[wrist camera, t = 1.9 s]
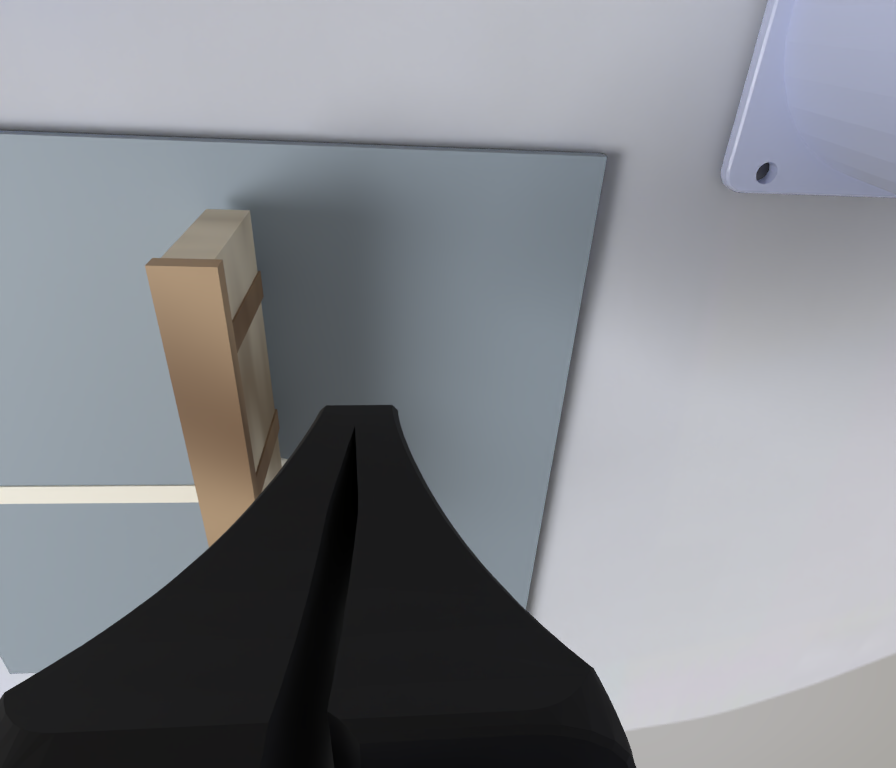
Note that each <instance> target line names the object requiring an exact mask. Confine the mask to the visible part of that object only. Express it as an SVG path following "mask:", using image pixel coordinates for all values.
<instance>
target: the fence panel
mask: <svg viewBox="0 0 896 768" xmlns="http://www.w3.org/2000/svg"><path fill="white" fill-rule="evenodd" d="M145 269H146V273H147V277H148V282H149V286H150V291H151V295H152V299H153V304H154V308H155V313H156V317H157V321H158V326H159V330H160V335H161V339H162V343H163V348H164V352H165V357H166V361H167V365H168V370H169V374H170V379H171V383H172V387H173V392H174V396H175V400H176V405H177V409H178V414H179V418H180V422H181V427H182V431H183V436H184V440H185V444H186V449H187V453H188V458H189V462H190V466H191V471H192V475H193V480H194V484H195V488H196V493H197V497H198V502H199V506H200V510H201V515H202V519H203V524H204V528H205V532H206V537H207V541H208V546H209V547H210V546H211V545H212V544H213V543H214V542H215V541H216V540H218V539H219V538H220V537H221V536H222V535H223V534H224V533H225V532H226V531H227V530H228V529H229V528H230V527H231V526H232V525H233V524H234V523H235V522H236V521H237V519H238V518H239V517H240V516H241V515H242V514H243V513H244V512H245V511H246V510H247V509H248V508H249V506H250V505H251V504H252V503H253V502H254V501H255V499H256V498H257V497H258V496H259V495H260V494H261V492H262V491H263V490H264V489H265V488H266V487H267V485H268V484H269V483H270V482H271V481H272V480H273V478H274V477H275V476H276V475H277V473H278V472H279V471H280V469H281V468H282V464H281V456H280V448H279V440H278V433H279V429H280V427H279V419H278V411H277V409H275V408H274V400H273V392H272V384H271V376H270V368H269V360H268V352H267V344H266V336H265V328H264V320H263V312H262V304H261V301H262V299H263V297H264V296H263V288H262V279H261V271H257V263H256V255H255V247H254V239H253V231H252V223H251V215H250V210H222V209H206V210H205V211H204V212H203V213H202V214H201V215H200V216H199V217H198V218H197V219H196V221H195V222H194V223H193V224H192V225H191V226H190V227H189V228H188V229H187V230H186V231H185V232H184V233H183V234H182V236H181V237H180V238H179V239H178V240H177V241H176V242H175V243H174V244H173V245H172V246H171V247H170V248H169V249H168V251H167V252H166V253H165V254H164V255H163V256H162V257H161V258H152V259H151V260H150V261H149V262H148V263H147V264H146V265H145Z"/></svg>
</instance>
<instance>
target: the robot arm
mask: <svg viewBox="0 0 896 768" xmlns="http://www.w3.org/2000/svg"><path fill="white" fill-rule="evenodd" d="M764 163H769V171H768V172H767V174H766V176H764V177H763V178H762V179H759V180H757V179H756V173H757V171H758V169H759V167H760V166H762V165H763V164H764ZM721 179H722V182H723V184H724V185H725V186H727V187H728V188H729V189H731V190H733V191H736V192H739V193H764V194H794V195H824V196H853V197H883V198H896V0H768V2H767V6H766V10H765V13H764V17H763V20H762V24H761V28H760V31H759V35H758V38H757V42H756V46H755V49H754V53H753V56H752V60H751V64H750V67H749V71H748V74H747V78H746V82H745V85H744V89H743V92H742V96H741V100H740V103H739V107H738V110H737V114H736V118H735V121H734V125H733V128H732V132H731V136H730V139H729V143H728V146H727V150H726V154H725V157H724V161H723V164H722V168H721ZM0 768H636V766H635V763H634V759H633V755H632V751H631V748H630V745H629V742H628V739H627V737H626V734H625V732H624V730H623V727H622V725H621V723H620V720H619V718H618V716H617V713H616V711H615V709H614V707H613V705H612V703H611V701H610V698H609V696H608V694H607V693H606V691H605V689H604V687H603V685H602V683H601V681H600V679H599V677H598V676H597V674H596V672H595V670H594V668H592V667H591V666H590V665H588V664H587V663H586V662H585V661H584V660H582V659H581V658H580V657H579V656H577V655H576V654H575V653H574V652H572V651H571V650H570V649H569V648H568V647H566V646H565V645H564V644H563V643H562V642H561V641H559V640H558V639H557V638H556V637H555V636H554V635H552V634H551V633H550V632H549V631H548V630H547V629H546V628H544V627H543V626H542V625H541V624H540V623H539V622H538V621H537V620H536V619H535V618H534V617H533V616H532V615H531V614H530V613H529V612H528V611H526V610H525V609H524V608H523V607H522V606H521V605H520V604H519V603H518V602H517V601H516V600H515V599H514V598H513V596H512V595H511V594H510V593H509V592H508V591H507V590H506V589H505V588H504V587H503V586H502V585H501V584H500V583H499V582H498V580H497V579H496V578H495V577H494V576H493V575H492V574H491V573H490V572H489V571H488V570H487V569H486V568H485V566H484V565H483V564H482V563H481V562H480V560H479V559H478V558H477V557H476V555H475V554H474V553H473V552H472V551H471V549H470V548H469V547H468V546H467V544H466V543H465V542H464V540H463V539H462V538H461V536H460V535H459V534H458V532H457V531H456V529H455V528H454V527H453V525H452V524H451V522H450V521H449V519H448V518H447V516H446V515H445V513H444V512H443V510H442V509H441V507H440V506H439V504H438V502H437V501H436V499H435V497H434V496H433V494H432V492H431V491H430V489H429V487H428V485H427V484H426V482H425V480H424V478H423V476H422V474H421V472H420V470H419V468H418V466H417V464H416V462H415V460H414V458H413V456H412V454H411V452H410V449H409V447H408V444H407V442H406V439H405V437H404V434H403V431H402V428H401V424H400V420H399V415H398V410H397V409H396V408H395V407H394V406H393V405H326V406H325V407H324V408H323V409H321V410H320V412H319V414H318V415H317V417H316V419H315V420H314V422H313V424H312V425H311V427H310V428H309V430H308V432H307V433H306V435H305V436H304V438H303V439H302V440H301V442H300V443H299V445H298V446H297V448H296V449H295V451H294V452H293V453H292V455H291V456H290V457H289V459H288V460H287V461H286V463H285V464H284V465H283V467H282V468H281V469H280V471H279V472H278V473H277V475H276V476H275V477H274V478H273V480H272V481H271V482H270V483H269V484H268V485H267V487H266V488H265V489H264V490H263V491H262V492H261V494H260V495H259V496H258V497H257V498H256V499H255V501H254V502H253V503H252V504H251V505H250V506H249V508H248V509H247V510H246V511H245V512H244V513H243V514H242V515H241V516H240V517H239V518H238V519H237V521H236V522H235V523H234V524H233V525H232V526H231V527H230V528H229V529H228V530H227V531H226V532H225V533H224V534H223V535H222V536H221V537H220V538H219V539H218V540H216V541H215V542H214V543H213V544H212V545H211V546H210V547H209V548H208V549H207V550H206V551H205V552H204V553H203V554H201V555H200V556H199V557H198V558H197V559H196V560H195V561H193V562H192V563H191V564H190V565H189V566H188V567H187V568H186V569H184V570H183V571H182V572H181V573H180V574H179V575H178V576H176V577H175V578H174V579H173V580H172V581H170V582H169V583H168V584H167V585H165V586H164V587H163V588H162V589H160V590H159V591H158V592H157V593H155V594H154V595H153V596H151V597H150V598H149V599H147V600H146V601H145V602H143V603H142V604H141V605H139V606H138V607H137V608H135V609H134V610H132V611H131V612H130V613H128V614H127V615H126V616H124V617H123V618H121V619H120V620H118V621H117V622H116V623H114V624H113V625H111V626H110V627H108V628H107V629H106V630H104V631H103V632H101V633H100V634H98V635H97V636H95V637H94V638H92V639H91V640H89V641H88V642H86V643H85V644H83V645H82V646H80V647H78V648H77V649H75V650H74V651H72V652H70V653H69V654H67V655H65V656H64V657H62V658H61V659H59V660H57V661H56V662H54V663H52V664H51V665H49V666H48V667H46V668H44V669H43V670H41V671H40V672H38V673H36V674H35V675H33V676H31V677H30V678H28V679H27V680H25V681H23V682H22V683H20V684H18V685H16V686H15V687H13V688H11V689H10V690H8V691H6V692H5V693H4V694H3V696H2V697H1V699H0Z"/></svg>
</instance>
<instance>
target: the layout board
mask: <svg viewBox="0 0 896 768" xmlns="http://www.w3.org/2000/svg"><path fill="white" fill-rule="evenodd" d="M606 160H607V157H606V156H605V155H604V154H603V153H578V152H552V151H526V150H500V149H474V148H448V147H422V146H396V145H370V144H343V143H317V142H291V141H265V140H239V139H213V138H187V137H161V136H135V135H109V134H83V133H57V132H31V131H4V130H0V657H1V658H2V660H3V662H4V664H5V665H6V667H7V669H8V671H9V673H10V674H17V673H38V672H40V671H41V670H43V669H44V668H46V667H48V666H49V665H51V664H52V663H54V662H56V661H57V660H59V659H61V658H62V657H64V656H65V655H67V654H69V653H70V652H72V651H74V650H75V649H77V648H78V647H80V646H82V645H83V644H85V643H86V642H88V641H89V640H91V639H92V638H94V637H95V636H97V635H98V634H100V633H101V632H103V631H104V630H106V629H107V628H108V627H110V626H111V625H113V624H114V623H116V622H117V621H118V620H120V619H121V618H123V617H124V616H126V615H127V614H128V613H130V612H131V611H132V610H134V609H135V608H137V607H138V606H139V605H141V604H142V603H143V602H145V601H146V600H147V599H149V598H150V597H151V596H153V595H154V594H155V593H157V592H158V591H159V590H160V589H162V588H163V587H164V586H165V585H167V584H168V583H169V582H170V581H172V580H173V579H174V578H175V577H176V576H178V575H179V574H180V573H181V572H182V571H183V570H184V569H186V568H187V567H188V566H189V565H190V564H191V563H192V562H193V561H195V560H196V559H197V558H198V557H199V556H200V555H201V554H203V553H204V552H205V551H206V550H207V549H208V548H209V546H208V541H207V537H206V532H205V528H204V524H203V519H202V515H201V510H200V506H199V502H198V497H197V493H196V488H195V484H194V480H193V475H192V471H191V466H190V462H189V458H188V453H187V449H186V444H185V440H184V436H183V431H182V427H181V422H180V418H179V414H178V409H177V405H176V400H175V396H174V392H173V387H172V383H171V379H170V374H169V370H168V365H167V361H166V357H165V352H164V348H163V343H162V339H161V335H160V330H159V326H158V321H157V317H156V313H155V308H154V304H153V299H152V295H151V291H150V286H149V282H148V277H147V273H146V269H145V265H146V264H147V263H148V262H149V261H150V260H151V259H152V258H161V257H162V256H163V255H164V254H165V253H166V252H167V251H168V249H169V248H170V247H171V246H172V245H173V244H174V243H175V242H176V241H177V240H178V239H179V238H180V237H181V236H182V234H183V233H184V232H185V231H186V230H187V229H188V228H189V227H190V226H191V225H192V224H193V223H194V222H195V221H196V219H197V218H198V217H199V216H200V215H201V214H202V213H203V212H204V211H205V210H206V209H222V210H250V215H251V223H252V231H253V239H254V247H255V255H256V263H257V271H261V279H262V288H263V296H264V297H263V299H262V301H261V304H262V312H263V320H264V328H265V336H266V344H267V352H268V360H269V368H270V376H271V384H272V392H273V400H274V408H275V409H277V411H278V419H279V427H280V429H279V433H278V440H279V448H280V456H281V464H282V467H283V465H284V464H285V463H286V461H287V460H288V459H289V457H290V456H291V455H292V453H293V452H294V451H295V449H296V448H297V446H298V445H299V443H300V442H301V440H302V439H303V438H304V436H305V435H306V433H307V432H308V430H309V428H310V427H311V425H312V424H313V422H314V420H315V419H316V417H317V415H318V414H319V412H320V410H321V409H323V408H324V407H325V406H326V405H393V406H394V407H395V408H396V409H397V410H398V415H399V420H400V424H401V428H402V431H403V434H404V437H405V439H406V442H407V444H408V447H409V449H410V452H411V454H412V456H413V458H414V460H415V462H416V464H417V466H418V468H419V470H420V472H421V474H422V476H423V478H424V480H425V482H426V484H427V485H428V487H429V489H430V491H431V492H432V494H433V496H434V497H435V499H436V501H437V502H438V504H439V506H440V507H441V509H442V510H443V512H444V513H445V515H446V516H447V518H448V519H449V521H450V522H451V524H452V525H453V527H454V528H455V529H456V531H457V532H458V534H459V535H460V536H461V538H462V539H463V540H464V542H465V543H466V544H467V546H468V547H469V548H470V549H471V551H472V552H473V553H474V554H475V555H476V557H477V558H478V559H479V560H480V562H481V563H482V564H483V565H484V566H485V568H486V569H487V570H488V571H489V572H490V573H491V574H492V575H493V576H494V577H495V578H496V579H497V580H498V582H499V583H500V584H501V585H502V586H503V587H504V588H505V589H506V590H507V591H508V592H509V593H510V594H511V595H512V596H513V598H514V599H515V600H516V601H517V602H518V603H519V604H520V605H521V606H522V607H523V608H524V609H525V610H526V606H527V600H528V595H529V589H530V584H531V578H532V572H533V567H534V561H535V556H536V550H537V545H538V539H539V533H540V528H541V522H542V517H543V511H544V506H545V500H546V494H547V489H548V483H549V478H550V472H551V467H552V461H553V455H554V450H555V444H556V439H557V433H558V428H559V422H560V417H561V411H562V405H563V400H564V394H565V389H566V383H567V378H568V372H569V366H570V361H571V355H572V350H573V344H574V339H575V333H576V327H577V322H578V316H579V311H580V305H581V300H582V294H583V288H584V283H585V277H586V272H587V266H588V261H589V255H590V249H591V244H592V238H593V233H594V227H595V222H596V216H597V210H598V205H599V199H600V194H601V188H602V183H603V177H604V171H605V166H606Z"/></svg>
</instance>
